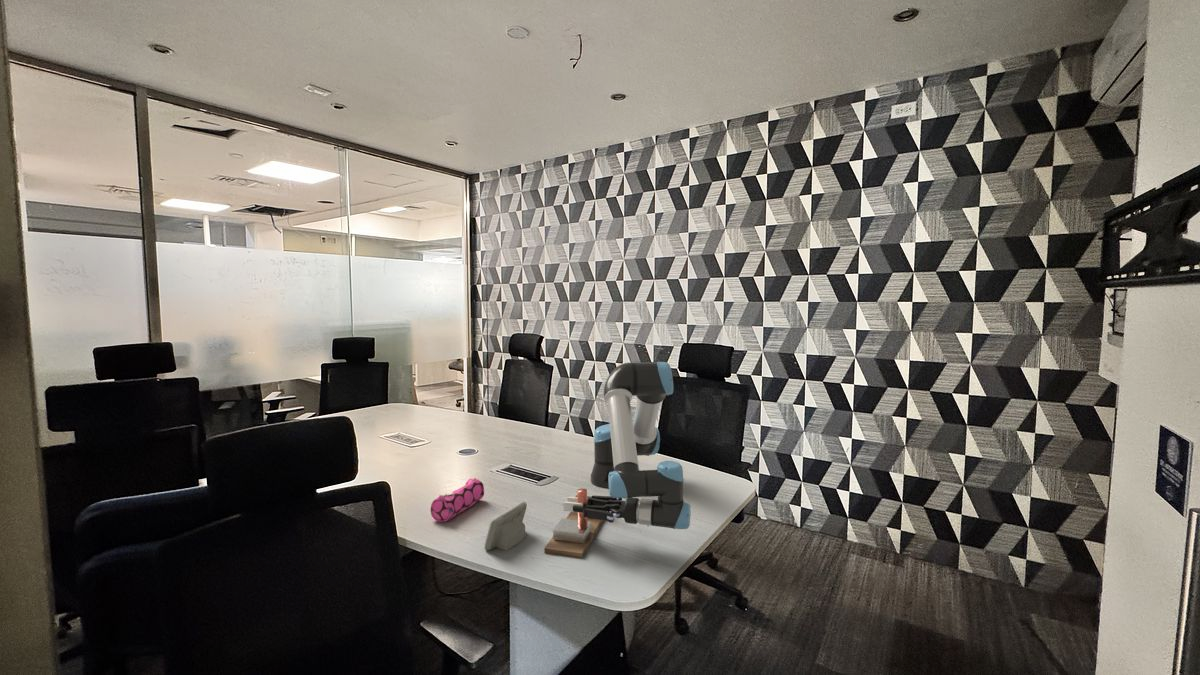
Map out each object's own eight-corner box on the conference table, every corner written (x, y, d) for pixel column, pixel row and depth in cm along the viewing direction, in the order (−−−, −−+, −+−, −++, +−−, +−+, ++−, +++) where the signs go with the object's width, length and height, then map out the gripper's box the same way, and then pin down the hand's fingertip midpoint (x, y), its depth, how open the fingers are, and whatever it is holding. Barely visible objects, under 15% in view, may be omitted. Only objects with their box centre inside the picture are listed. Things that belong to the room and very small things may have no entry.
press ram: (583, 543, 146) (582, 496, 145) (553, 539, 149) (552, 493, 148) (591, 530, 154) (590, 485, 153) (562, 527, 157) (560, 483, 155)
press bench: (582, 558, 141) (581, 538, 141) (544, 552, 145) (543, 534, 144) (607, 513, 170) (607, 496, 170) (575, 509, 173) (575, 493, 173)
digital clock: (518, 527, 161) (517, 497, 160) (536, 536, 155) (535, 504, 154) (477, 547, 149) (476, 514, 148) (494, 557, 143) (493, 523, 142)
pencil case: (452, 526, 163) (451, 498, 162) (429, 522, 166) (428, 494, 165) (488, 500, 182) (487, 475, 182) (466, 497, 186) (465, 472, 185)
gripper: (633, 536, 138) (557, 526, 144) (643, 511, 153) (574, 504, 159) (633, 511, 137) (556, 502, 143) (643, 488, 152) (573, 482, 159)
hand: (566, 503), depth 151 cm, fingers closed on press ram, 3 cm apart
